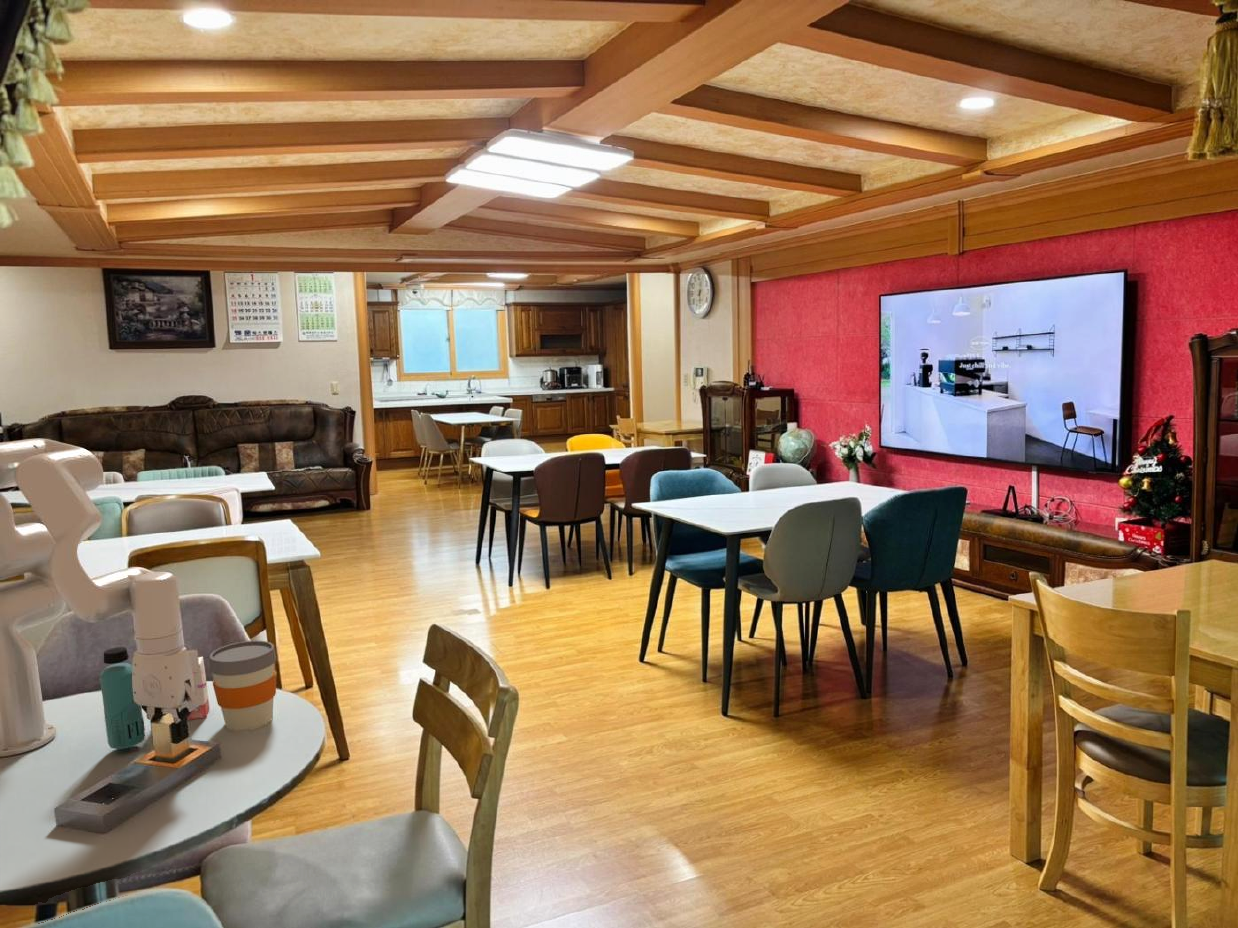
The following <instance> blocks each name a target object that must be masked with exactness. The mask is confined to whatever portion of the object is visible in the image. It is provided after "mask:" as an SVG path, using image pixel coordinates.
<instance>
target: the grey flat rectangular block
mask: <svg viewBox="0 0 1238 928" xmlns="http://www.w3.org/2000/svg"><path fill="white" fill-rule="evenodd" d="M189 747H190V754H189V755H188V756H186V757H185V758H183V759H181V760H180V761H178V762H176V763H175V764H170V763H163V762H156V760H155V752H154V750H152V751H150V752H148V753H146V754H145V755H143V756H140V757H139V758H138V759H136V760H134V761H133V762H132V763H129V764H128V765H127V766H125V767H122V768H121V769H119V770H117V771H116V772H114V773H113V774H111V775H109V776H107V777H106V778H104V779H102V780H101V781H99V782H97V783H95V784H94V785H92V786H90V787H88V788H87V789H85V790H83V791H81V792H80V793H78V794H77V795H75V796H73V797H71V798H69V799H68V800H66V801H64V802H63V803H61V804H59V805H58V806H56V807H54V809H53V811H54V817H55V824H56V825H55V826H57V827H63V828H68V829H74V830H81V831H85V832H86V831H87V832H92V833H93V832H94V833H99V834H103V835H104V834H107V833H108V832H110V831H111V830H113V829H114V828H116V827H117V826H119V825H120V824H122V823H123V822H125V821H127V820H128V819H129V818H131V817H134V816H135V815H136V814H138V813H140V812H141V811H142V810H143V809H145V808H147V807H148V806H149V805H152V804H153V803H155V802H156V801H158V800H159V799H160V798H162V797H164V796H166V795H167V794H168V793H170V792H172V791H173V790H175V789H176V788H177V787H179V786H180V785H182V784H184V783H185V782H187V781H188V780H190V779H192V777H195V776H196V775H198V774H199V773H201V772H203V771H204V770H205V769H207V768H209V767H210V766H211V765H214V764H215V763H216V762H218V761H219V760H221V759H222V753H221V743H220V742H216V741H215V742H213V741H208V740H207V741H206V740H198V739H190V738H189ZM163 795H164V796H163ZM112 798H113V799H112ZM110 799H111V800H113V802H111V803H109V804H106V803H108V802H109V800H110ZM115 799H117V800H115ZM111 800H110V801H111ZM107 801H108V802H107ZM103 803H105V804H103Z"/></svg>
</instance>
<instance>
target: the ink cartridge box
mask: <svg viewBox="0 0 1238 928" xmlns="http://www.w3.org/2000/svg"><path fill="white" fill-rule="evenodd" d="M187 652H188V655H189V658H190V662H191V666H192V671H193V676H194V683H195V695H196V697H197V698H198V700H199V701H200V703H201V705H200V706H199V707H197V708H196V709H194V710H193V711H192V712H191V714H190V716H189V717H188V718H187V720H188V721H191V720H198V719H204V718H207V716H208V713H209V711H210V709H211V708H210V700H209V693H208V692H209V690H208V685H207V684H208V683H207V675H206V668H205V661H204V660H205V659H204V656H199V652H198V650H197V649H192V650H191V649H190V650H187ZM187 704H188V703H187ZM178 710H179V712H180V711H181V706H180V707H179V708H178ZM164 713H165V714H168V713H169V714H172V713H171V709H165V708H164V712H163V714H164Z"/></svg>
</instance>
